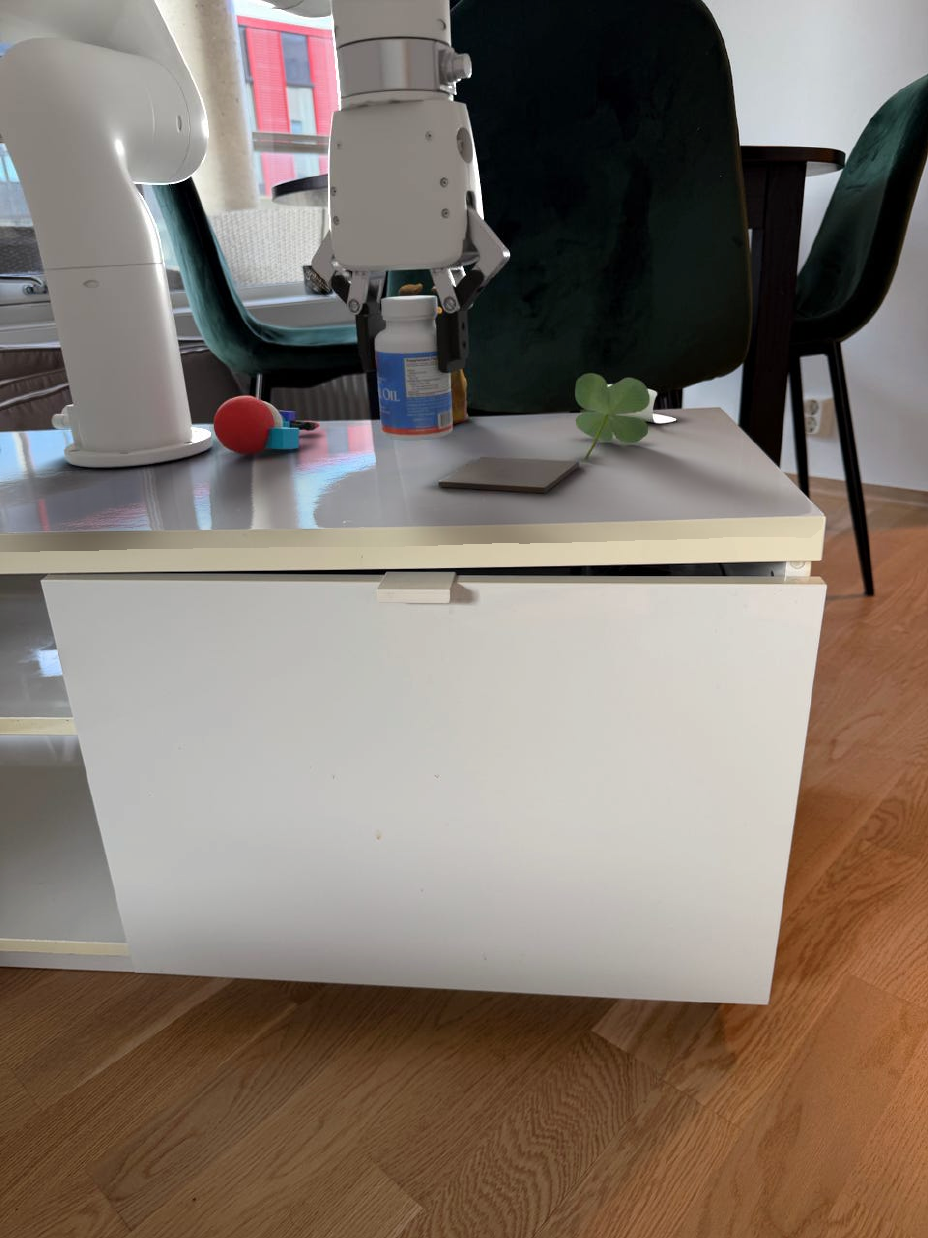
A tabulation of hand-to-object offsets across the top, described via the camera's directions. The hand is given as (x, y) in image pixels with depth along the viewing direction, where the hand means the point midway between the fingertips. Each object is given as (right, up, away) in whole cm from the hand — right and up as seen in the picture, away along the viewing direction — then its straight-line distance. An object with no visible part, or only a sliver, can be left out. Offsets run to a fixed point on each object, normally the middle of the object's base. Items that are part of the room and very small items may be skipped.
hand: (413, 367), depth 64 cm
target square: (+7, -8, 0) cm, 11 cm away
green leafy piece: (+14, -5, +8) cm, 17 cm away
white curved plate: (+20, +1, +19) cm, 28 cm away
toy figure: (-14, -3, +15) cm, 21 cm away
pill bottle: (0, -5, +2) cm, 5 cm away
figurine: (+1, +1, +23) cm, 23 cm away
